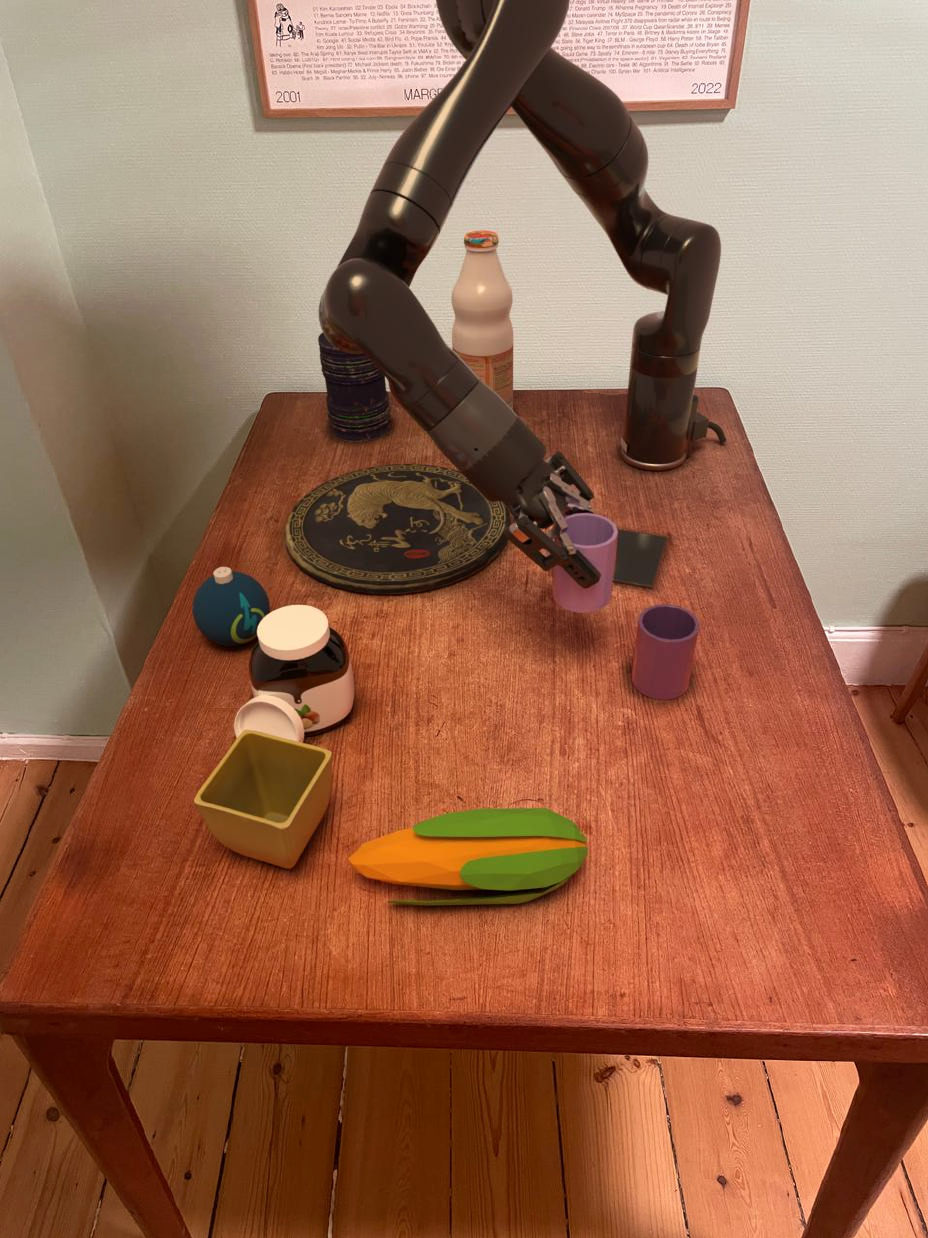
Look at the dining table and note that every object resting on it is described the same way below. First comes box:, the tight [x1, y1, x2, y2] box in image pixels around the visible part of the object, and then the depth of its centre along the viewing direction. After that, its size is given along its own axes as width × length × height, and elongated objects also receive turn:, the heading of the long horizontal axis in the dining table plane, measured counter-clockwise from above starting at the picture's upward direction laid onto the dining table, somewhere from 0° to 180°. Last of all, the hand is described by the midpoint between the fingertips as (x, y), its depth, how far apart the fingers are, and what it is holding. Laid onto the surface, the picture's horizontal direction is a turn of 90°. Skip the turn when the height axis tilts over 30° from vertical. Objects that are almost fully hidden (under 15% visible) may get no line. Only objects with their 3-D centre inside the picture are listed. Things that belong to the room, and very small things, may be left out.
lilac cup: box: [552, 513, 619, 614], centre depth 89 cm, size 6×6×8 cm
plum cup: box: [631, 603, 700, 701], centre depth 93 cm, size 6×6×8 cm
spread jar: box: [233, 604, 355, 743], centre depth 88 cm, size 12×11×12 cm
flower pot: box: [193, 730, 333, 870], centre depth 78 cm, size 9×9×9 cm
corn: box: [347, 807, 589, 906], centre depth 74 cm, size 7×8×20 cm
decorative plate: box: [284, 463, 511, 595], centre depth 119 cm, size 30×2×30 cm
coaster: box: [613, 528, 668, 590], centre depth 113 cm, size 11×11×1 cm
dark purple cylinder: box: [317, 331, 392, 443], centre depth 138 cm, size 10×10×15 cm
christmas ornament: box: [191, 566, 271, 647], centre depth 100 cm, size 8×8×10 cm
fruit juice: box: [451, 229, 515, 411], centre depth 136 cm, size 9×9×28 cm
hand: (601, 563), depth 89 cm, fingers closed on lilac cup, 6 cm apart
